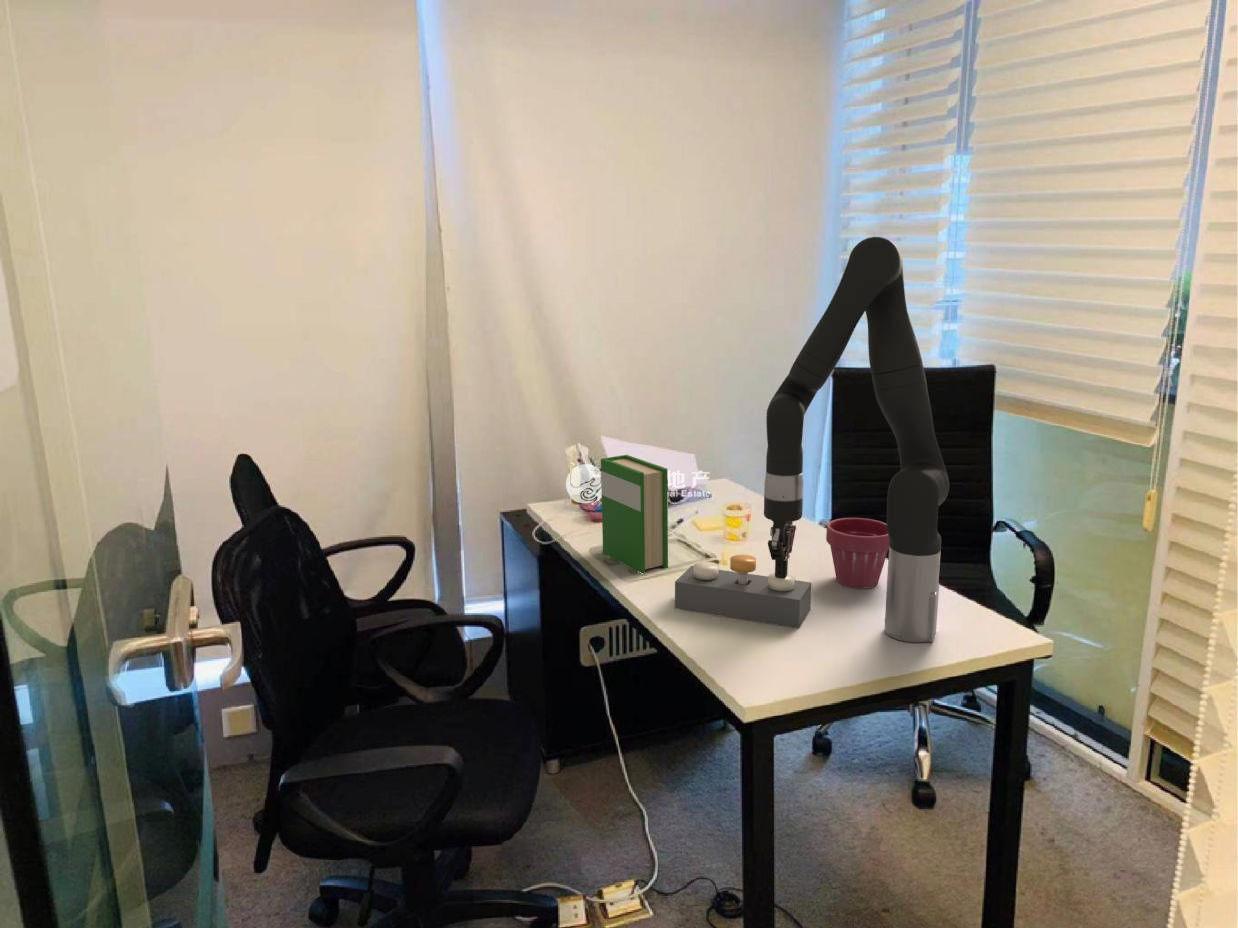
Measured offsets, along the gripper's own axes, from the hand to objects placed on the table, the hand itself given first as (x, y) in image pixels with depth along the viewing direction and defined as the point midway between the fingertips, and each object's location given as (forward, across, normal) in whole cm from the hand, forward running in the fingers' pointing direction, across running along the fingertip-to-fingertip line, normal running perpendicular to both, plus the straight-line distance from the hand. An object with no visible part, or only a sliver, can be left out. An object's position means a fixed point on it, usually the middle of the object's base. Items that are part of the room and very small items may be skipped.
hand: (781, 576), depth 177 cm
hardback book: (+9, +19, +41) cm, 46 cm away
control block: (+8, 0, +8) cm, 11 cm away
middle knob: (+4, 0, +8) cm, 9 cm away
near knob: (+7, 0, 0) cm, 7 cm away
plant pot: (+8, +25, -11) cm, 29 cm away
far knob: (+7, 0, +16) cm, 17 cm away
